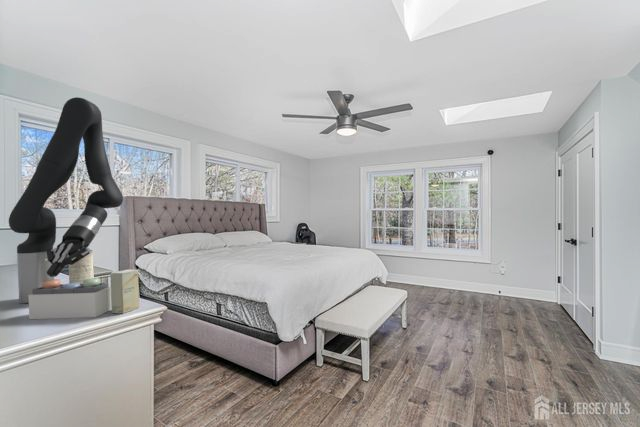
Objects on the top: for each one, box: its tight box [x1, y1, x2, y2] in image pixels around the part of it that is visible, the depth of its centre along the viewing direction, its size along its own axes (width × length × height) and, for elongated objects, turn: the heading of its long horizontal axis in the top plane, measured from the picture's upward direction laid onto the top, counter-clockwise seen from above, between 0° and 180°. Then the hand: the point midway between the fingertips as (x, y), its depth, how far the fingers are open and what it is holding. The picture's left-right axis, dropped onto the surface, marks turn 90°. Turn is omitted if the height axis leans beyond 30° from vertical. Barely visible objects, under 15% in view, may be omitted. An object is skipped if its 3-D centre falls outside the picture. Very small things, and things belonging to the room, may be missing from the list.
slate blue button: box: [63, 282, 80, 288], centre depth 88 cm, size 4×4×2 cm
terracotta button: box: [42, 278, 61, 289], centre depth 88 cm, size 4×4×2 cm
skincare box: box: [109, 268, 140, 314], centre depth 90 cm, size 6×4×12 cm
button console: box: [28, 282, 112, 320], centre depth 88 cm, size 19×7×8 cm, turn 91°
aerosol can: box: [68, 246, 95, 284], centre depth 105 cm, size 7×7×20 cm
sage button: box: [83, 277, 101, 288], centre depth 88 cm, size 4×4×2 cm
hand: (51, 275), depth 87 cm, fingers closed
